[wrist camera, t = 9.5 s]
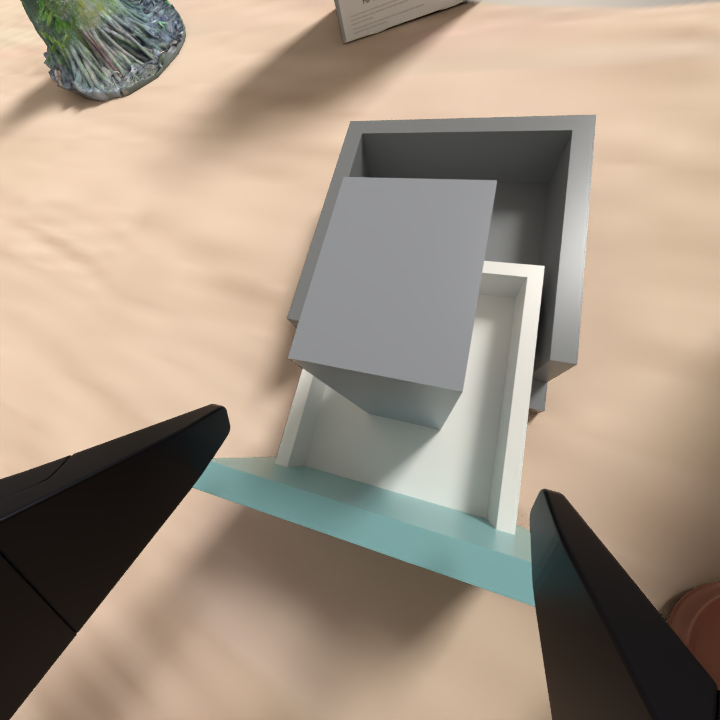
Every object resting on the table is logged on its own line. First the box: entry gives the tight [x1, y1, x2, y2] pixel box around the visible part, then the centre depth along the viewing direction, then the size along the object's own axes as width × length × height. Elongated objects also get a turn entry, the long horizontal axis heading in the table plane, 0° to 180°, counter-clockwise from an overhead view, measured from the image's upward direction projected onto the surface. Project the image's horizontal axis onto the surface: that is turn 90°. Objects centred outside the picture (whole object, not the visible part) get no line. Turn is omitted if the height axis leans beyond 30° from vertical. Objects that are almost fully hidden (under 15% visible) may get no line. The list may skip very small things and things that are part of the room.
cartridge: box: [288, 177, 497, 430], centre depth 14 cm, size 4×6×12 cm
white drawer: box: [192, 261, 545, 606], centre depth 17 cm, size 15×15×8 cm
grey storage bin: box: [287, 115, 596, 413], centre depth 21 cm, size 18×16×5 cm
